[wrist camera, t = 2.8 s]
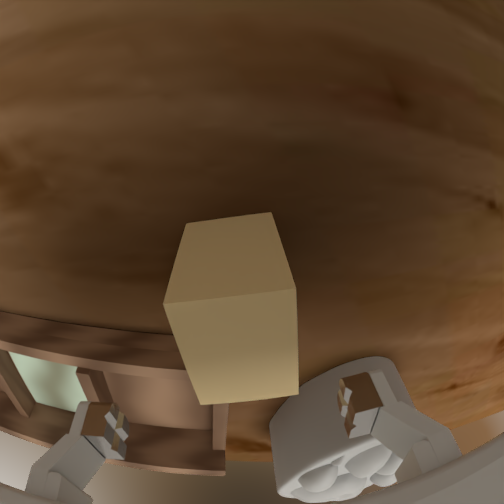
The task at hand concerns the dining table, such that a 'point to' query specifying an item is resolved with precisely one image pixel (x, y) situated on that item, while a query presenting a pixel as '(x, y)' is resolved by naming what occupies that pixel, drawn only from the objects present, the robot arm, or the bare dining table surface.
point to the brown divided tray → (108, 392)
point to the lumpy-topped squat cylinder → (330, 440)
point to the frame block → (235, 310)
